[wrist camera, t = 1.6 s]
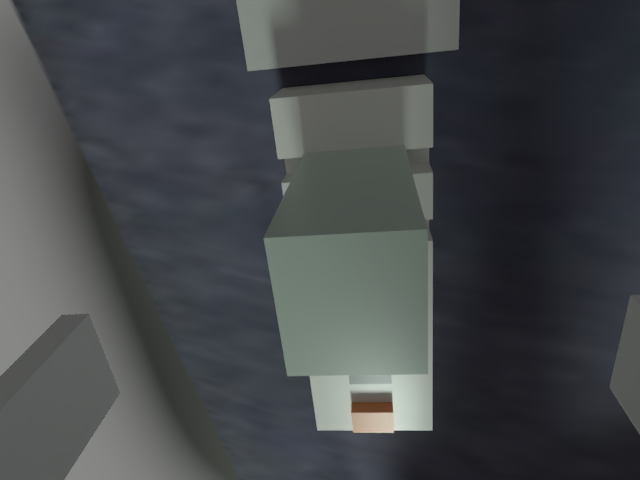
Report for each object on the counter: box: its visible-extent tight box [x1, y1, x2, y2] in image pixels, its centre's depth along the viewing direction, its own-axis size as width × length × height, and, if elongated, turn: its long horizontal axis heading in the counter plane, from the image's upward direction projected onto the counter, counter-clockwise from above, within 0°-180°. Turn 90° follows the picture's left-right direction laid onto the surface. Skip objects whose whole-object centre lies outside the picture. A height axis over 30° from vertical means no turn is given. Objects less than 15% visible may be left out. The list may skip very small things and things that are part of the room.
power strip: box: [269, 74, 433, 433], centre depth 25 cm, size 20×7×4 cm, turn 6°
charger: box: [264, 145, 428, 376], centre depth 18 cm, size 5×4×10 cm
